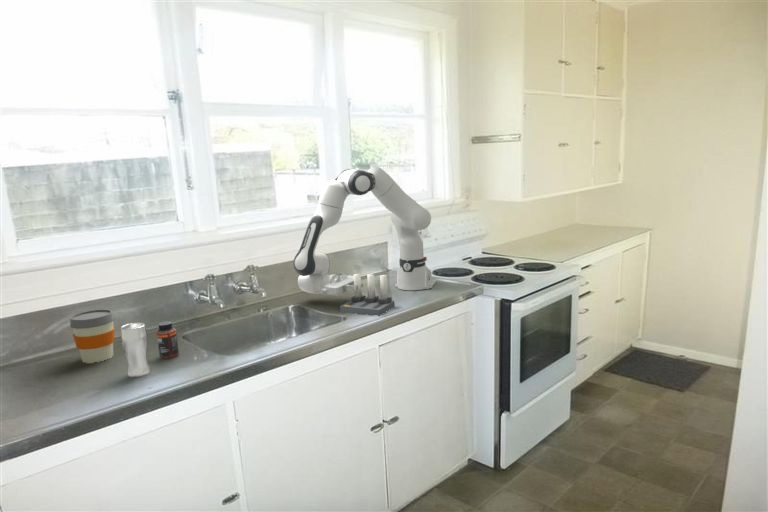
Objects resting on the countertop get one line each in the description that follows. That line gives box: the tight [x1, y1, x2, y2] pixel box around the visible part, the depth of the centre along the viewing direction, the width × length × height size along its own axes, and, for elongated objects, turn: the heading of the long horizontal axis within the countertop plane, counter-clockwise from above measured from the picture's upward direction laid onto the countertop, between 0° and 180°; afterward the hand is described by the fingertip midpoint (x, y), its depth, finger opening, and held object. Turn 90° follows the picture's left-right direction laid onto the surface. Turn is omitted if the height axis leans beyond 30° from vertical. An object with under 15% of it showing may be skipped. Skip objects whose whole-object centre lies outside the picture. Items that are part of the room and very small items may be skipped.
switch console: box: [339, 273, 396, 317], centre depth 214 cm, size 14×18×14 cm
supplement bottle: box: [156, 320, 180, 360], centre depth 170 cm, size 6×6×11 cm
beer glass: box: [120, 322, 151, 378], centre depth 156 cm, size 7×7×15 cm
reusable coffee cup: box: [69, 308, 115, 364], centre depth 171 cm, size 13×13×15 cm
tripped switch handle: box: [350, 273, 366, 302], centre depth 219 cm, size 5×4×11 cm
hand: (359, 286), depth 219 cm, fingers closed on tripped switch handle, 3 cm apart
